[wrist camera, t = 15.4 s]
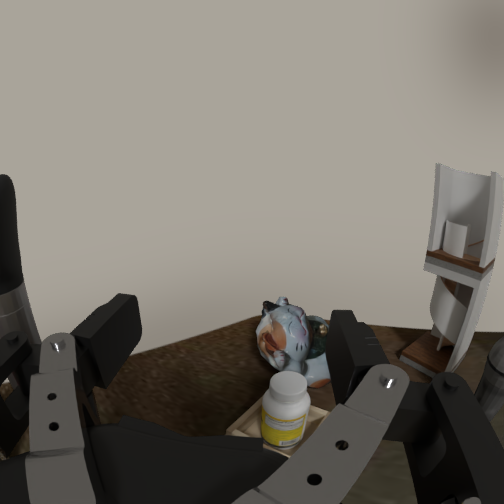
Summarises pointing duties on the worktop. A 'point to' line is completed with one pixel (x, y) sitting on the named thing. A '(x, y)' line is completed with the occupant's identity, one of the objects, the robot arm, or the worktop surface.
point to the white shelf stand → (458, 265)
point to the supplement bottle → (285, 410)
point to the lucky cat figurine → (294, 341)
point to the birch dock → (252, 425)
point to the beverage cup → (492, 382)
